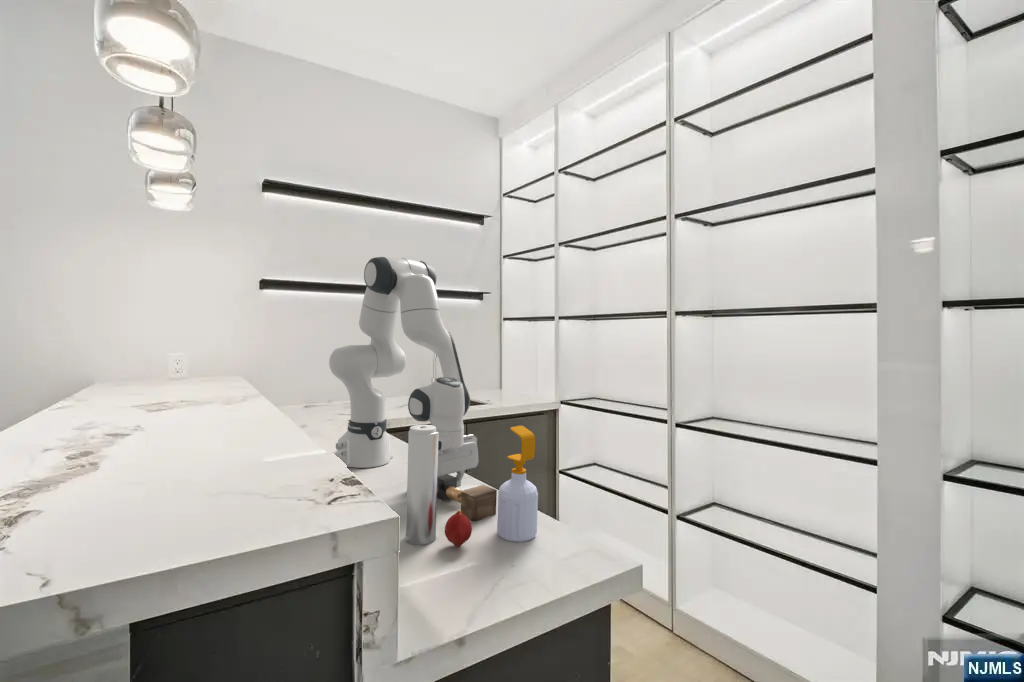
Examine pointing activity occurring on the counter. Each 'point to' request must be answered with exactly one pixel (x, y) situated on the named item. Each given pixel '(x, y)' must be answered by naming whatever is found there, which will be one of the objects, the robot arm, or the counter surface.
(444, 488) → the hammer
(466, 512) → the socket
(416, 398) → the robot arm
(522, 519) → the soap bottle
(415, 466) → the silver metal cylinder
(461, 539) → the onion
